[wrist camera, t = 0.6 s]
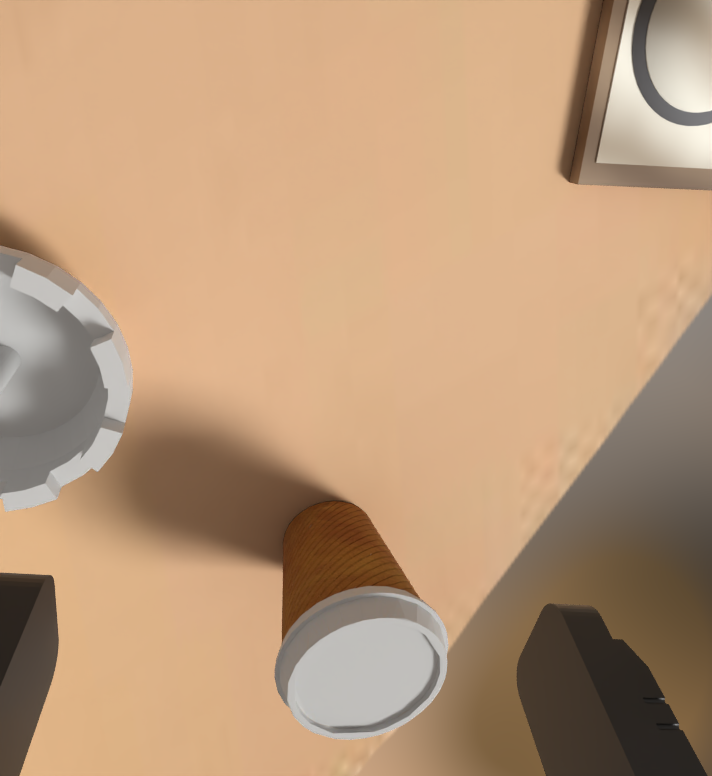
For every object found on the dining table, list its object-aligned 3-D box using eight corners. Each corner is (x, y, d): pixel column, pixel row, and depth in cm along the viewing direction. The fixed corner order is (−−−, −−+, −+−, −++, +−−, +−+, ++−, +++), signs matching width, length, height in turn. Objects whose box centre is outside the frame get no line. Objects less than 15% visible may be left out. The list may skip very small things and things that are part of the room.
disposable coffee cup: (229, 555, 43) (238, 709, 32) (323, 454, 41) (365, 581, 30) (334, 613, 47) (372, 766, 36) (422, 523, 45) (490, 655, 34)
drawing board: (635, -167, 31) (652, -178, 29) (838, -130, 33) (861, -138, 32) (569, 182, 37) (580, 184, 36) (743, 190, 40) (759, 193, 39)
